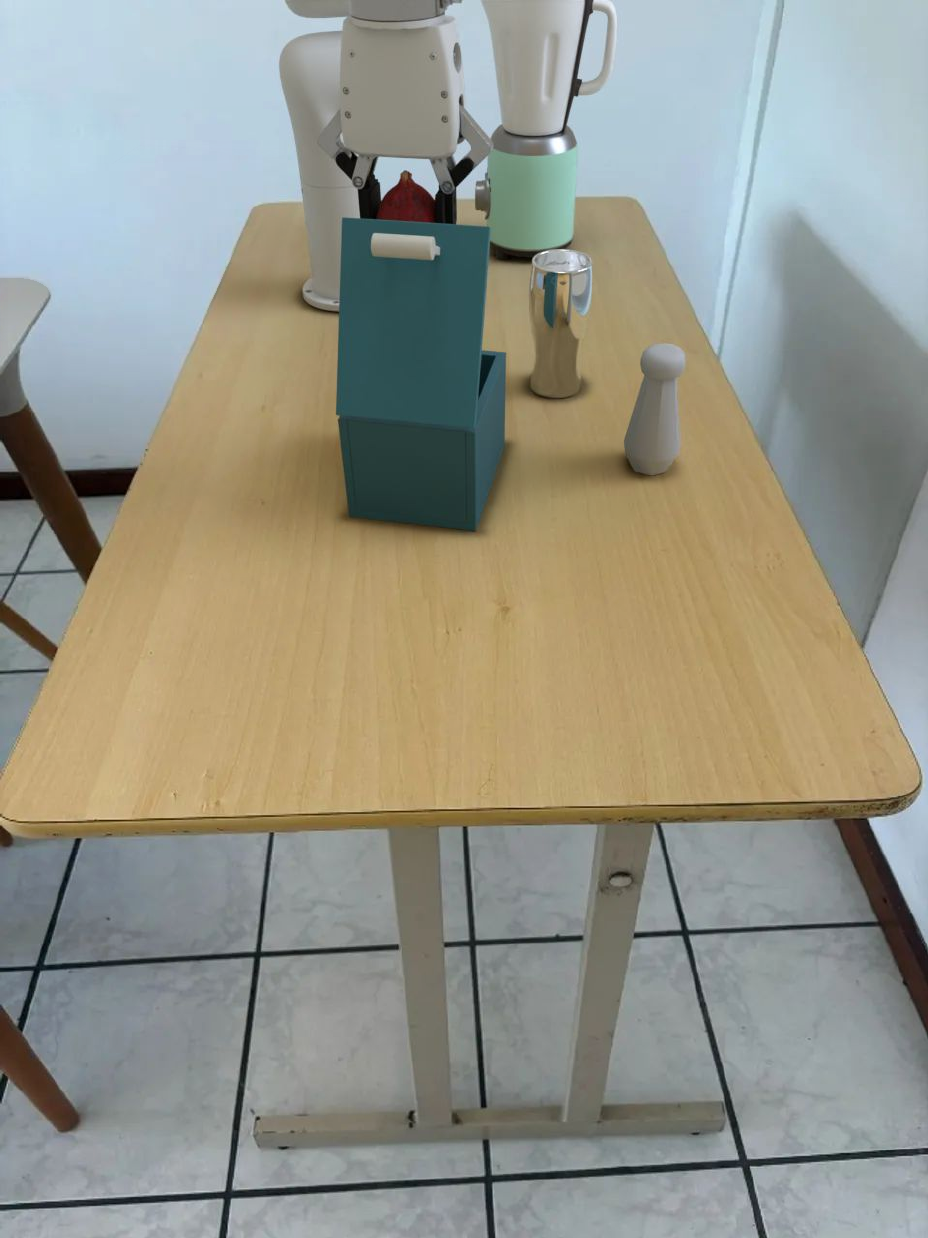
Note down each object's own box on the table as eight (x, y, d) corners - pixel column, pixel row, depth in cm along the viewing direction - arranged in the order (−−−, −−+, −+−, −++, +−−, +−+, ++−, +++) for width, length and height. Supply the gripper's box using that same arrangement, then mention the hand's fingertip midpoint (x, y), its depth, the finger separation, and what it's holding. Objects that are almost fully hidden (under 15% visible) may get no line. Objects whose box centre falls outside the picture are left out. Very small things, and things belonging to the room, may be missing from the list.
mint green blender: (470, 263, 141) (468, -19, 118) (477, 230, 151) (476, -36, 128) (600, 266, 140) (624, -19, 116) (598, 233, 150) (620, -36, 126)
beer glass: (581, 403, 110) (591, 275, 100) (521, 397, 111) (525, 270, 101) (587, 374, 115) (597, 249, 105) (530, 369, 116) (535, 246, 106)
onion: (450, 269, 88) (448, 177, 82) (391, 279, 86) (384, 186, 81) (429, 247, 92) (425, 158, 86) (371, 256, 90) (364, 166, 85)
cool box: (390, 434, 106) (383, 341, 99) (504, 445, 104) (506, 351, 96) (348, 516, 94) (337, 419, 87) (475, 531, 92) (475, 432, 85)
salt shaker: (680, 454, 102) (698, 339, 93) (674, 483, 98) (693, 366, 89) (625, 446, 103) (638, 333, 95) (617, 475, 99) (630, 359, 90)
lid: (344, 217, 82) (325, 211, 77) (491, 227, 80) (480, 220, 75) (338, 414, 87) (319, 419, 82) (476, 427, 85) (465, 433, 80)
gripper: (513, -8, 76) (509, 223, 88) (308, -12, 79) (331, 212, 91) (496, 10, 71) (494, 254, 83) (276, 5, 74) (305, 241, 86)
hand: (408, 230), depth 87 cm, fingers closed on onion, 5 cm apart
